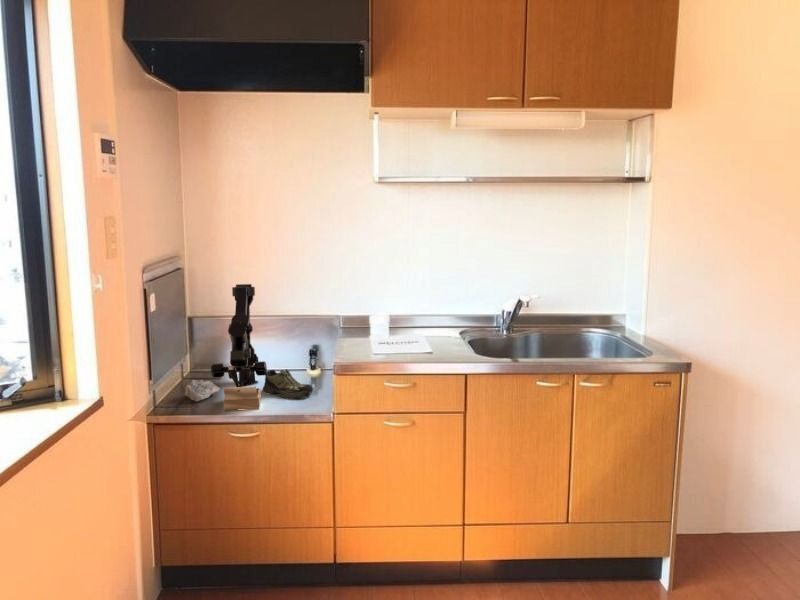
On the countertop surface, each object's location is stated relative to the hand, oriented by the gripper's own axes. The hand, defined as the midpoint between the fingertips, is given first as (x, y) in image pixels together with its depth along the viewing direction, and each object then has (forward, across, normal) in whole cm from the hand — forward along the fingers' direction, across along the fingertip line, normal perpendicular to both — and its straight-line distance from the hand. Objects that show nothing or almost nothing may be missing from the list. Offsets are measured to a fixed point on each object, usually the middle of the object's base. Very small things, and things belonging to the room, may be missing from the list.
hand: (238, 391), depth 232 cm
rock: (-8, -15, +20) cm, 27 cm away
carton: (0, 0, +12) cm, 12 cm away
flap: (0, +1, +1) cm, 2 cm away
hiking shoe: (-7, +16, +19) cm, 26 cm away
